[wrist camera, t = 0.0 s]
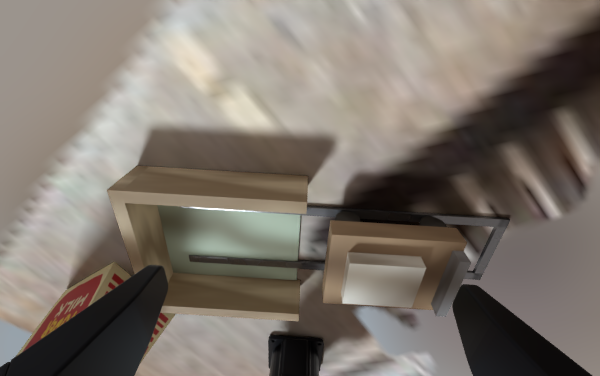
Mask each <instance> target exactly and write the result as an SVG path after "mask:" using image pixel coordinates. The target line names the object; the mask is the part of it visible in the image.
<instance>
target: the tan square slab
mask: <svg viewBox="0 0 600 376" xmlns="http://www.w3.org/2000/svg"><path fill="white" fill-rule="evenodd" d="M466 244H467V242H466V241H465V239H464V238H463V237H462V235H461V234H460V232H459V231H458V230H457V228H449V227H447V226H446V224H445V223H444V222H443V221H442V220H440V219H438V218H435V217H430V216H426V217H423V218H421V220H420V223H419V226H417V225H400V224H384V223H368V222H360V217H359V216H358V215H357V214H355V213H352V212H348V211H343V212H339V213H338V214H337V215H336V219H335V220H330V228H329V236H328V244H327V252H326V260H325V268H324V276H323V283H322V297H323V303H329V304H345V305H361V306H377V307H393V308H409V309H424V310H434V312H435V314H436V316H445V317H446V315H447V313H448V311H449V309H450V307H451V305H452V302H453V300H454V298H455V296H456V294H457V292H458V290H459V287H460V285H461V283H462V281H463V279H464V277H465V275H466V273H467V270H468V268H469V266H470V264H471V262H470V260H469V259H468V257H467V256H466V254H465V253H464V249H465V246H466Z"/></svg>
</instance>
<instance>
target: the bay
mask: <svg viewBox="0 0 600 376" xmlns="http://www.w3.org/2000/svg"><path fill="white" fill-rule="evenodd" d="M307 190H308V176H301V175H284V174H268V173H251V172H234V171H218V170H201V169H185V168H168V167H151V166H136V167H135V168H134V169H132V170H131V171H130V172H129V173H127V174H126V175H125V176H124V177H122V178H121V179H120V180H119V181H117V182H116V183H115V184H114V185H113V186H111V187H110V188H109V189H108V190H107V192H108V195H109V198H110V201H111V204H112V207H113V210H114V213H115V216H116V219H117V223H118V226H119V229H120V232H121V235H122V238H123V241H124V244H125V247H126V250H127V253H128V256H129V259H130V262H131V265H132V268H133V271H134V274H136V273H137V272H139V271H140V270H142V269H143V268H145V267H146V266H148V265H161V266H163V267H164V269H165V273H166V277H167V281H168V292H167V295H166V298H165V301H164V303H163V306H162V309H161V312H160V313H174V314H190V315H206V316H222V317H237V318H253V319H269V320H285V321H298V320H299V302H300V280H297V268H282V267H266V266H250V265H234V264H218V263H202V262H190V261H189V255H203V256H219V257H235V258H251V259H267V260H284V261H298V248H299V232H300V215H293V214H277V213H261V212H244V211H228V210H211V209H195V208H179V206H181V207H198V208H214V209H231V210H247V211H263V212H280V213H296V214H306V212H307Z"/></svg>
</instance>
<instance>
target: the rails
mask: <svg viewBox="0 0 600 376" xmlns="http://www.w3.org/2000/svg"><path fill="white" fill-rule="evenodd" d="M179 208H195V209H211V210H228V211H244V212H261V213H277V214H293V215H310V216H326V217H336V215H337V214H338V213H339V212H343V211H348V212H352V213H355V214H357V215H358V216H359V217H360V219H375V220H392V221H408V222H420V220H421V218H423V217H426V216H430V217H435V218H438V219H440V220H442V221H443V222H444V223H445V224H457V225H473V226H490V227H494V229H493V231H492V233H491V235H490V237H489V239H488V241H487V243H486V245H485V247H484V249H483V251H482V254H481V256H480V258H479V260H478V262H477V264H476V266H475V268H474V270H473V271H467V273H466V275H465V277H464V279H475V280H480V278H481V277H482V275H483V273H484V271H485V269H486V267H487V265H488V263H489V261H490V259H491V257H492V255H493V253H494V251H495V249H496V247H497V245H498V243H499V241H500V239H501V237H502V235H503V233H504V231H505V230H506V228H507V226H508V224H509V222H510V219H509V218H500V217H484V216H468V215H451V214H435V213H418V212H402V211H385V210H369V209H353V208H336V207H320V206H307V212H306V214H296V213H280V212H263V211H247V210H231V209H214V208H198V207H181V206H179ZM189 261H190V262H202V263H218V264H234V265H250V266H266V267H282V268H298V269H315V270H324V268H325V262H319V261H303V260H298V261H284V260H267V259H251V258H235V257H219V256H203V255H189Z"/></svg>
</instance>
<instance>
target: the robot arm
mask: <svg viewBox="0 0 600 376" xmlns="http://www.w3.org/2000/svg"><path fill="white" fill-rule="evenodd" d="M167 292H168V281H167V277H166V273H165V269H164V267H163V266H161V265H148V266H146V267H145V268H143V269H142V270H140V271H139V272H137V273H136V274H134V275H133V276H132V277H130V278H129V279H127V280H126V281H124V282H123V283H121V284H120V285H118V286H117V287H116V288H114V289H113V290H111V291H110V292H108V293H107V294H105V295H104V296H103V297H101V298H100V299H98V300H97V301H95V302H94V303H92V304H91V305H90V306H88V307H87V308H85V309H84V310H82V311H81V312H79V313H78V314H77V315H75V316H74V317H72V318H71V319H69V320H68V321H66V322H65V323H64V324H62V325H61V326H59V327H58V328H56V329H55V330H53V331H52V332H51V333H49V334H48V335H46V336H45V337H43V338H42V339H40V340H39V341H38V342H36V343H35V344H33V345H32V346H30V347H29V348H27V349H26V350H25V351H23V352H22V353H20V354H19V355H17V356H16V357H14V358H13V359H12V360H11V362H7V363H6V364H4V365H3V366H1V367H0V376H134V375H135V373H136V371H137V369H138V366H139V364H140V362H141V360H142V358H143V356H144V354H145V352H146V349H147V347H148V345H149V343H150V340H151V337H152V335H153V332H154V329H155V326H156V323H157V321H158V318H159V315H160V312H161V309H162V306H163V303H164V301H165V298H166V295H167ZM453 312H454V316H455V319H456V323H457V326H458V330H459V333H460V337H461V340H462V344H463V347H464V350H465V354H466V357H467V361H468V363H469V366H470V369H471V372H472V374H473V376H592V375H591V374H590V373H588V372H587V371H586V370H584V369H583V368H582V367H581V366H579V365H578V364H577V363H575V362H574V361H573V360H572V359H570V358H569V357H568V356H567V355H565V354H564V353H563V352H562V351H560V350H559V349H558V348H556V347H555V346H554V345H553V344H551V343H550V342H549V341H547V340H546V339H545V338H544V337H542V336H541V335H540V334H539V333H537V332H536V331H535V330H534V329H532V328H531V327H530V326H528V325H527V324H526V323H525V322H523V321H522V320H521V319H520V318H518V317H517V316H515V315H514V314H513V313H512V312H510V311H509V310H508V309H507V308H505V307H504V306H503V305H501V304H500V303H499V302H498V301H496V300H495V299H494V298H493V297H491V296H490V295H489V294H488V293H486V292H485V291H484V290H482V289H481V288H480V287H478V286H477V285H467V284H463V285H461V286H460V288H459V290H458V292H457V294H456V296H455V299H454V301H453ZM268 344H269V368H270V374H269V376H319V371H320V366H321V359H322V353H323V346H324V341H323V339H320V338H306V337H290V336H274V335H272V336H270V337H269V341H268Z"/></svg>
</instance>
